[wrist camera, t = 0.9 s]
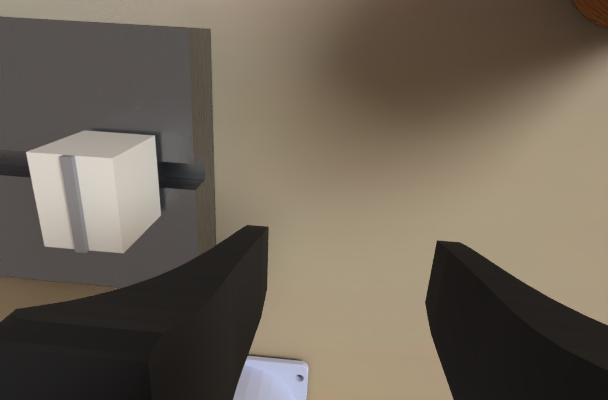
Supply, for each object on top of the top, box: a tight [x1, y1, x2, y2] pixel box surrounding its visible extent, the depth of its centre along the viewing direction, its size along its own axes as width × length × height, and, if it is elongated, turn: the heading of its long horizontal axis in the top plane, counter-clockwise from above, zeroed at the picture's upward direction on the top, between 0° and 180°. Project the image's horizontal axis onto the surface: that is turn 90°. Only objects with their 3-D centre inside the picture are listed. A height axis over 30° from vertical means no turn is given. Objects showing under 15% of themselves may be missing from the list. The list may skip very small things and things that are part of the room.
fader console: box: [0, 17, 216, 288], centre depth 20 cm, size 12×19×3 cm, turn 87°
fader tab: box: [26, 130, 161, 253], centre depth 17 cm, size 4×3×5 cm
